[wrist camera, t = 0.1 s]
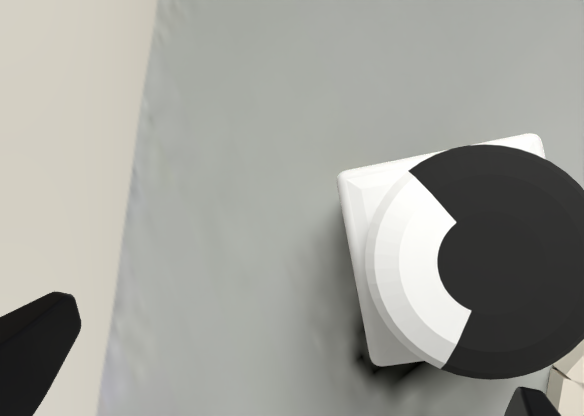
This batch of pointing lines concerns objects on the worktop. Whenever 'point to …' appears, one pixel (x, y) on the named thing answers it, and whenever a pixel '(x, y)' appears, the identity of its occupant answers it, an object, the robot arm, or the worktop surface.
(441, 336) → the medicine bottle
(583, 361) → the coaster
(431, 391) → the worktop surface
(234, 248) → the worktop surface
